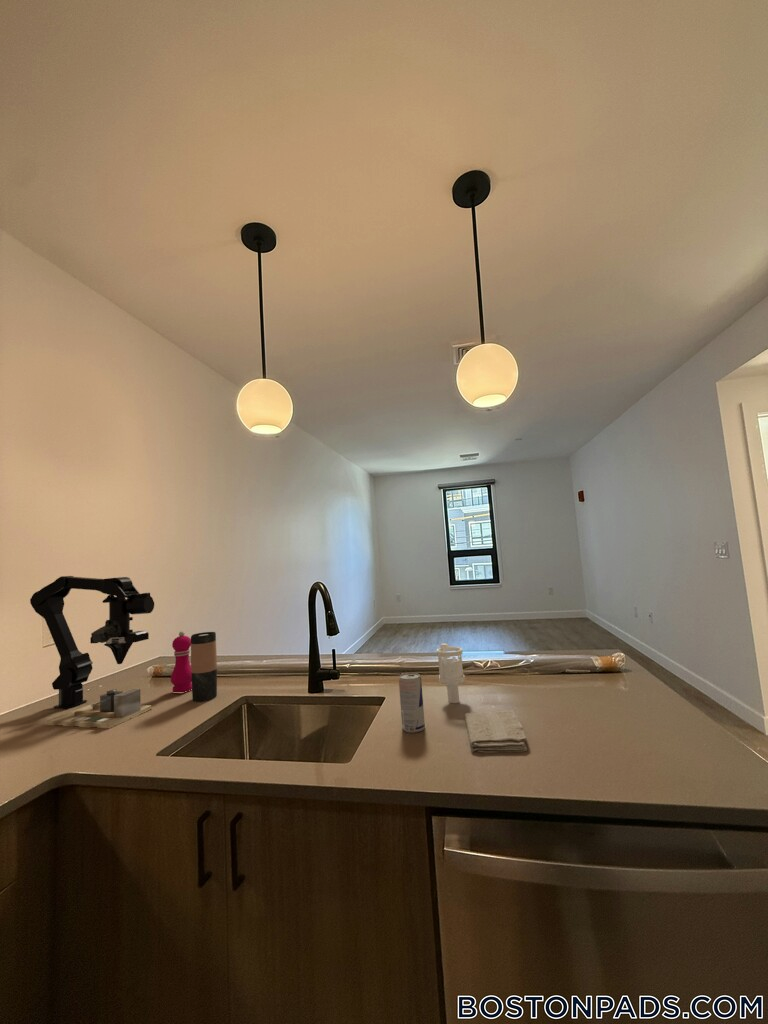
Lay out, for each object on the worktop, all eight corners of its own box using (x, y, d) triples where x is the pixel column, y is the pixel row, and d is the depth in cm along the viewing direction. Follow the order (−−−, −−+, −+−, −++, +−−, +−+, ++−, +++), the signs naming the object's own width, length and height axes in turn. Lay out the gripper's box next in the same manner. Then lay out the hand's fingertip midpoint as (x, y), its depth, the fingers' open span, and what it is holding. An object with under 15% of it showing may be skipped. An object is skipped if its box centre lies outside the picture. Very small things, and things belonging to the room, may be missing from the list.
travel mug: (223, 694, 136) (221, 631, 138) (203, 703, 129) (202, 636, 131) (205, 693, 139) (204, 631, 141) (186, 701, 132) (184, 636, 134)
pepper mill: (185, 694, 140) (183, 632, 142) (166, 694, 141) (165, 633, 143) (198, 687, 147) (197, 629, 149) (180, 687, 148) (179, 629, 150)
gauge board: (46, 725, 120) (47, 698, 120) (93, 707, 133) (93, 683, 134) (109, 728, 113) (109, 700, 114) (151, 709, 126) (151, 684, 127)
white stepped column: (456, 695, 120) (452, 641, 121) (472, 702, 113) (466, 645, 115) (435, 700, 117) (431, 645, 118) (450, 707, 110) (445, 649, 112)
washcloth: (471, 756, 84) (469, 740, 85) (463, 721, 102) (462, 708, 103) (531, 754, 83) (530, 738, 84) (513, 719, 101) (511, 706, 102)
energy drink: (427, 724, 101) (423, 672, 102) (421, 734, 96) (417, 679, 97) (405, 723, 102) (402, 672, 104) (399, 732, 97) (395, 678, 99)
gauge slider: (85, 720, 117) (86, 697, 117) (112, 709, 124) (112, 688, 125) (97, 720, 116) (97, 698, 116) (123, 709, 123) (123, 688, 124)
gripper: (74, 620, 134) (74, 670, 132) (120, 618, 129) (120, 671, 127) (106, 615, 145) (106, 661, 143) (149, 613, 140) (150, 661, 138)
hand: (119, 664), depth 138 cm, fingers closed
